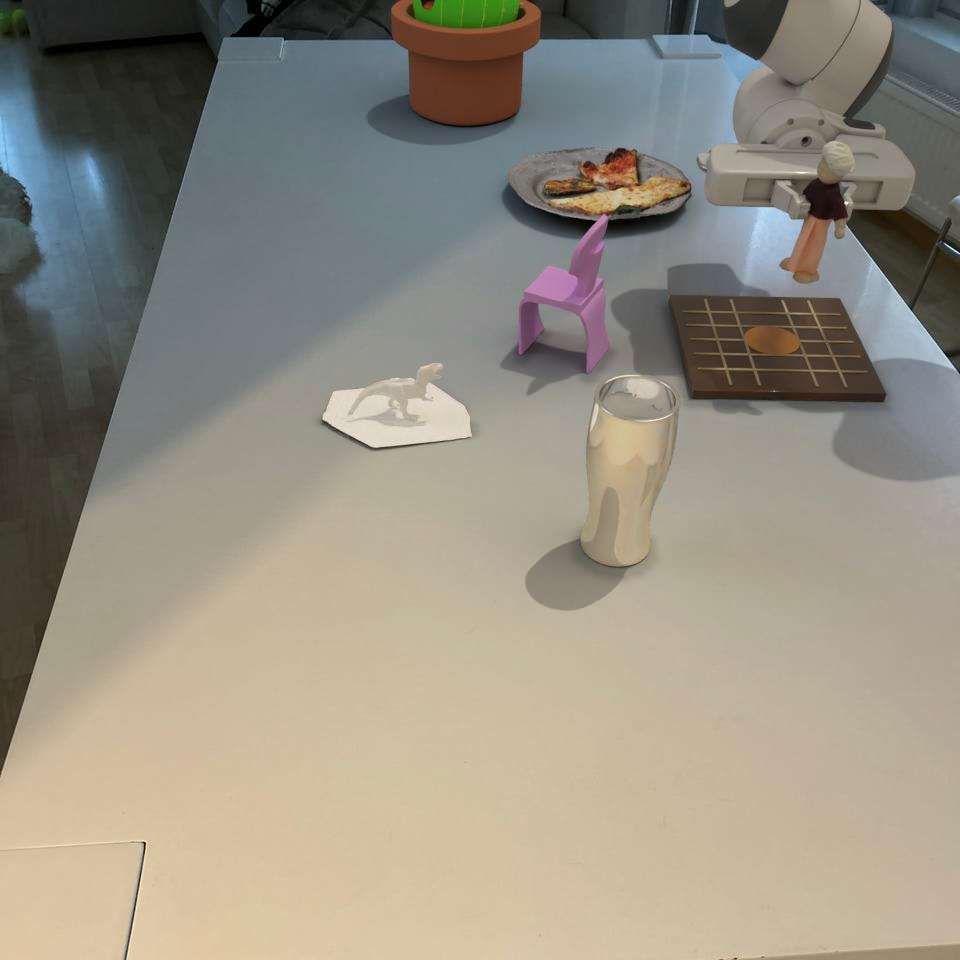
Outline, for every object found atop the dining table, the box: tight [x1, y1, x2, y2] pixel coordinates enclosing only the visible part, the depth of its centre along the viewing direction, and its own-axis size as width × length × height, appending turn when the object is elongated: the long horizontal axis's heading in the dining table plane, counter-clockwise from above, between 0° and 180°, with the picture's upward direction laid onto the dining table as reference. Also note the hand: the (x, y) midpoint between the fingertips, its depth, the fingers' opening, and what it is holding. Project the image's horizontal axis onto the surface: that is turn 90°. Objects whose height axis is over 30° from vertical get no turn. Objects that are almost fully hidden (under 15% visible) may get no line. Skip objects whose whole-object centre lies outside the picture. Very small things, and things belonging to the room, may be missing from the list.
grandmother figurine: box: [779, 141, 855, 285], centre depth 94 cm, size 8×4×13 cm, turn 29°
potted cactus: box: [390, 0, 542, 127], centre depth 148 cm, size 22×22×25 cm
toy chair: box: [518, 214, 611, 374], centre depth 102 cm, size 8×9×15 cm
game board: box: [668, 294, 888, 403], centre depth 108 cm, size 20×20×1 cm
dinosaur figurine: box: [322, 362, 473, 449], centre depth 97 cm, size 15×12×6 cm
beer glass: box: [579, 373, 682, 568], centre depth 80 cm, size 7×7×15 cm
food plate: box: [507, 146, 693, 222], centre depth 134 cm, size 25×23×4 cm
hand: (823, 212), depth 93 cm, fingers closed on grandmother figurine, 3 cm apart
